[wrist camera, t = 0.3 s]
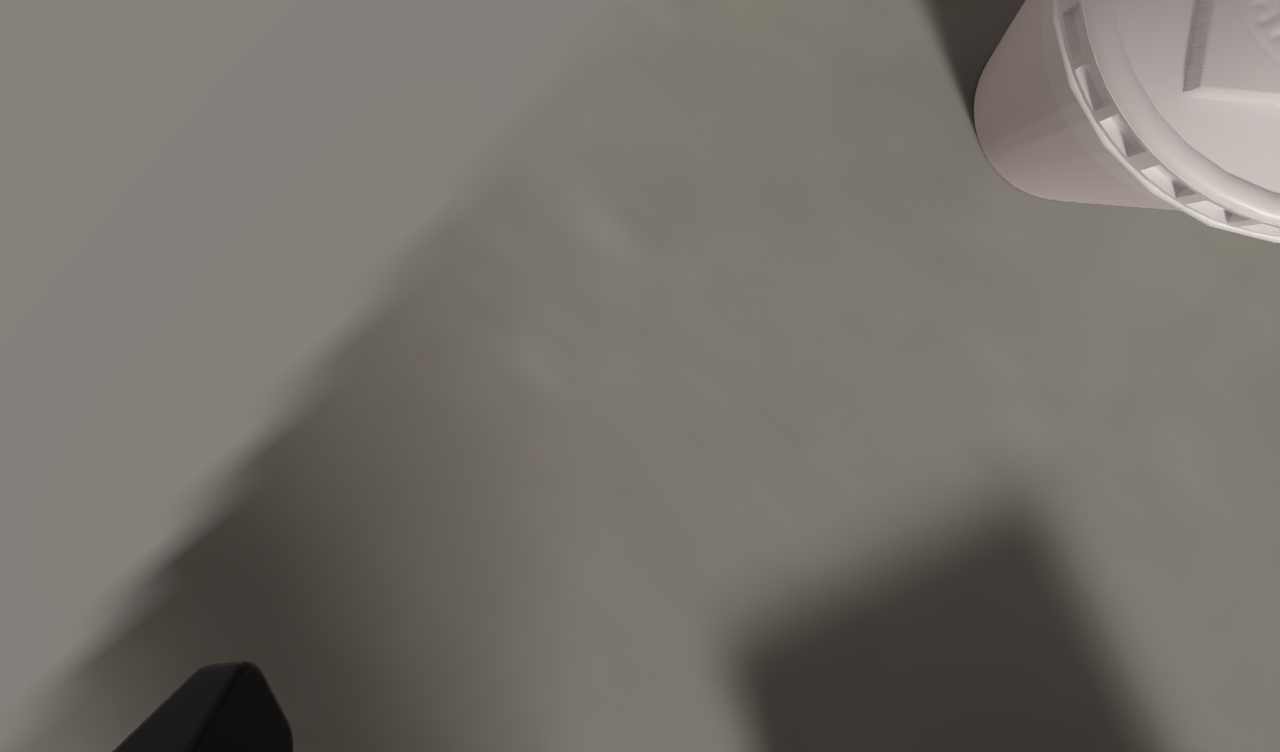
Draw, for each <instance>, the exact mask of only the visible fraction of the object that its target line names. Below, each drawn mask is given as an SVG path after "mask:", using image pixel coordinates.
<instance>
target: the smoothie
mask: <svg viewBox="0 0 1280 752" xmlns="http://www.w3.org/2000/svg"><path fill="white" fill-rule="evenodd" d="M974 122H975V128H976V133H977V136H978V140H979V143H980V145H981V147H982V150H983V152H984V154H985V155H986V157H987V159H988V160H989V162H990V163H991V165H992V166H993V167H994V169H995V170H996V171H997V172H998V173H999V174H1000V175H1001V176H1002V177H1003V178H1004V179H1005V180H1007V181H1008V182H1009V183H1010V184H1012V185H1013V186H1015V187H1016V188H1018V189H1020V190H1022V191H1024V192H1026V193H1028V194H1031V195H1033V196H1036V197H1040V198H1043V199H1049V200H1057V201H1070V202H1082V203H1095V204H1107V205H1120V206H1132V207H1145V208H1158V209H1170V210H1181V211H1183V212H1185V213H1187V214H1188V215H1190V216H1192V217H1194V218H1195V219H1197V220H1199V221H1201V222H1203V223H1204V224H1206V225H1208V226H1210V227H1214V228H1218V229H1222V230H1226V231H1230V232H1234V233H1238V234H1242V235H1246V236H1250V237H1254V238H1258V239H1262V240H1266V241H1270V242H1274V243H1280V0H1025V2H1024V4H1023V5H1022V7H1021V9H1020V10H1019V12H1018V13H1017V15H1016V17H1015V18H1014V20H1013V22H1012V23H1011V25H1010V26H1009V28H1008V30H1007V31H1006V33H1005V35H1004V36H1003V38H1002V39H1001V41H1000V43H999V44H998V46H997V48H996V49H995V51H994V52H993V54H992V56H991V57H990V59H989V61H988V62H987V64H986V66H985V68H984V70H983V72H982V74H981V76H980V79H979V82H978V85H977V89H976V94H975V100H974Z"/></svg>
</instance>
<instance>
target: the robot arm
mask: <svg viewBox="0 0 1280 752" xmlns="http://www.w3.org/2000/svg"><path fill="white" fill-rule="evenodd" d="M113 752H293V737H292V732H291V728H290V725H289V722H288V720H287V718H286V717H285V715H284V713H283V711H282V709H281V707H280V705H279V703H278V701H277V699H276V697H275V696H274V694H273V692H272V690H271V688H270V686H269V684H268V682H267V680H266V678H265V676H264V675H263V673H262V671H261V670H260V668H259V667H258V666H256V665H255V664H253V663H252V662H247V661H242V662H233V663H223V664H214V665H208V666H205V667H202V668H201V669H199V670H198V671H196V672H195V673H194V674H193V675H192V676H191V677H190V678H189V679H188V680H186V681H185V682H184V683H183V684H182V685H181V686H180V687H179V688H178V689H177V690H176V691H175V692H174V693H173V694H172V695H171V696H170V697H169V698H168V699H167V700H166V701H165V702H164V703H163V704H161V705H160V706H159V707H158V708H157V709H156V710H155V711H154V712H153V713H152V714H151V715H150V716H149V717H148V718H147V719H146V720H145V721H144V722H143V723H142V724H141V725H140V726H139V727H138V728H137V729H135V730H134V731H133V732H132V733H131V734H130V735H129V736H128V737H127V738H126V739H125V740H124V741H123V742H122V743H121V744H120V745H119V746H118V747H117V748H116V749H115V750H114V751H113Z"/></svg>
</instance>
